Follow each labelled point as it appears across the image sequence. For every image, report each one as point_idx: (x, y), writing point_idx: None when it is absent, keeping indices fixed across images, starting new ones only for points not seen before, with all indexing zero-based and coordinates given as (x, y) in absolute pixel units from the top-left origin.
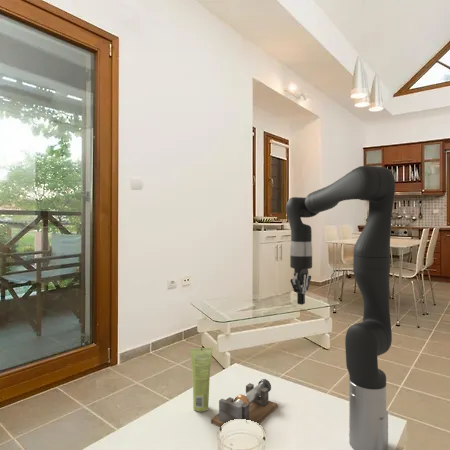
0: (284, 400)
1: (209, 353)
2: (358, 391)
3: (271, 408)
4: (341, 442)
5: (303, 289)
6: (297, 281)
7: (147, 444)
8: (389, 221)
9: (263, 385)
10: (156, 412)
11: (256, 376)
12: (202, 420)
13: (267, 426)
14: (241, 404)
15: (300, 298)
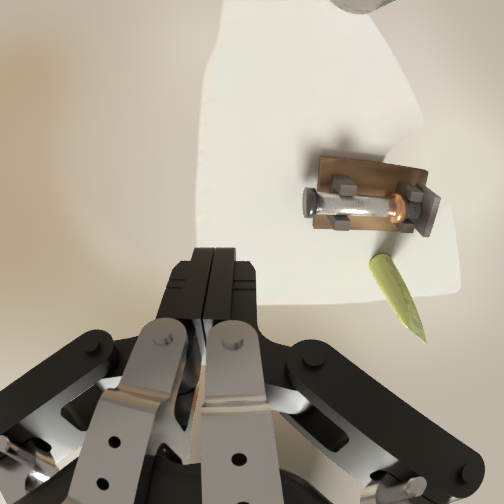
0: (285, 155)
1: (411, 321)
2: None
3: (346, 161)
4: (367, 25)
5: (229, 372)
6: (475, 466)
7: (457, 260)
8: None
9: (328, 201)
10: None
11: None
12: (407, 242)
13: (388, 148)
14: (410, 204)
15: (255, 300)
